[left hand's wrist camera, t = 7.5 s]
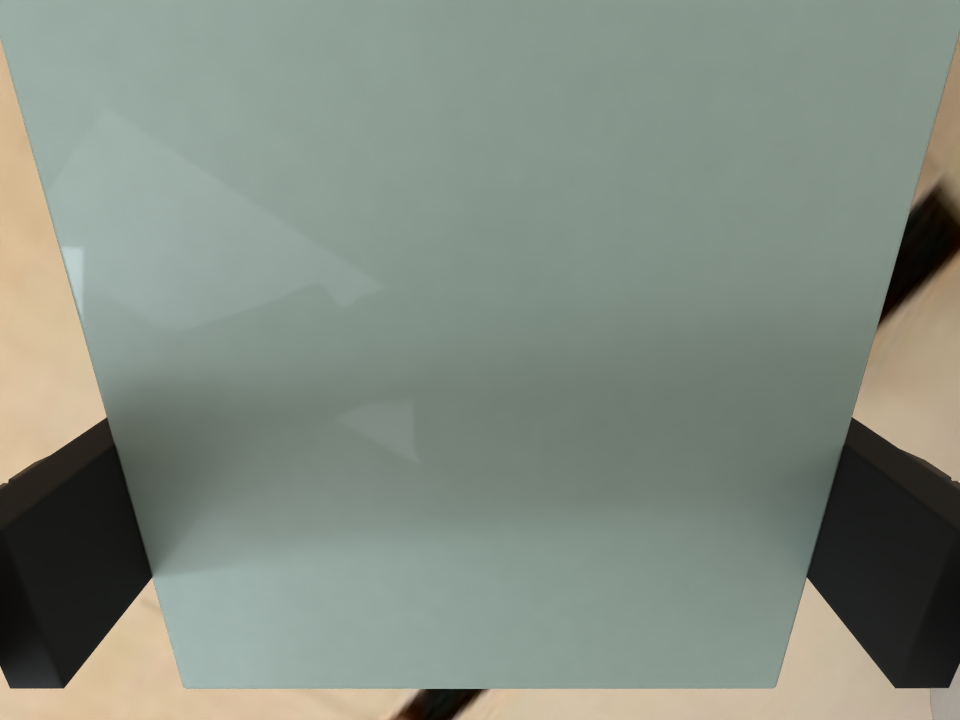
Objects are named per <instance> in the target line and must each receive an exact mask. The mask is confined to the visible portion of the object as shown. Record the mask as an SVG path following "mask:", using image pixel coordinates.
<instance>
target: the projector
mask: <svg viewBox="0 0 960 720" xmlns="http://www.w3.org/2000/svg"><path fill="white" fill-rule="evenodd" d="M930 704H931V710H932V716H933V720H960V664H959V666H958V669H957V671H956V673H955V676H954V678H953V680H952V682H951V685H950V687H949V688H930Z"/></svg>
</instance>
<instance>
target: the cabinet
mask: <svg viewBox="0 0 960 720" xmlns="http://www.w3.org/2000/svg"><path fill="white" fill-rule="evenodd" d="M959 34H960V0H0V39H1V42H2V46H3V50H4V53H5V57H6V60H7V64H8V67H9V71H10V74H11V78H12V82H13V85H14V89H15V92H16V96H17V99H18V103H19V106H20V110H21V113H22V117H23V121H24V124H25V128H26V131H27V135H28V138H29V142H30V145H31V149H32V152H33V156H34V160H35V163H36V167H37V170H38V174H39V177H40V181H41V184H42V188H43V191H44V195H45V199H46V202H47V206H48V209H49V213H50V216H51V220H52V223H53V227H54V230H55V234H56V238H57V241H58V245H59V248H60V252H61V255H62V259H63V262H64V266H65V270H66V273H67V277H68V280H69V284H70V287H71V291H72V294H73V298H74V301H75V305H76V309H77V312H78V316H79V319H80V323H81V326H82V330H83V333H84V337H85V340H86V344H87V348H88V351H89V355H90V358H91V362H92V365H93V369H94V372H95V376H96V379H97V383H98V387H99V390H100V394H101V397H102V401H103V404H104V408H105V411H106V415H107V418H108V422H109V426H110V429H111V433H112V436H113V440H114V443H115V447H116V450H117V454H118V458H119V461H120V465H121V468H122V472H123V475H124V479H125V482H126V486H127V489H128V493H129V497H130V500H131V504H132V507H133V511H134V514H135V518H136V521H137V525H138V528H139V532H140V536H141V539H142V543H143V546H144V550H145V553H146V557H147V560H148V564H149V567H150V571H151V575H152V578H153V582H154V585H155V589H156V592H157V596H158V599H159V603H160V606H161V610H162V614H163V617H164V621H165V624H166V628H167V631H168V635H169V638H170V642H171V645H172V649H173V653H174V656H175V660H176V663H177V667H178V670H179V674H180V677H181V681H182V685H183V687H184V688H186V689H689V688H775V687H776V685H777V681H778V678H779V674H780V671H781V667H782V663H783V660H784V656H785V653H786V649H787V646H788V642H789V639H790V635H791V631H792V628H793V624H794V621H795V617H796V614H797V610H798V607H799V603H800V599H801V596H802V592H803V589H804V585H805V582H806V578H807V575H808V571H809V567H810V564H811V560H812V557H813V553H814V550H815V546H816V543H817V539H818V535H819V532H820V528H821V525H822V521H823V518H824V514H825V511H826V507H827V503H828V500H829V496H830V493H831V489H832V486H833V482H834V479H835V475H836V471H837V468H838V464H839V461H840V457H841V454H842V450H843V447H844V443H845V439H846V436H847V432H848V429H849V425H850V422H851V418H852V415H853V411H854V407H855V404H856V400H857V397H858V393H859V390H860V386H861V383H862V379H863V375H864V372H865V368H866V365H867V361H868V358H869V354H870V351H871V347H872V343H873V340H874V336H875V333H876V329H877V326H878V322H879V319H880V315H881V311H882V308H883V304H884V301H885V297H886V294H887V290H888V287H889V283H890V279H891V276H892V272H893V269H894V265H895V262H896V258H897V255H898V251H899V247H900V244H901V240H902V237H903V233H904V230H905V226H906V223H907V219H908V215H909V212H910V208H911V205H912V201H913V198H914V194H915V191H916V187H917V183H918V180H919V176H920V173H921V169H922V166H923V162H924V159H925V155H926V151H927V148H928V144H929V141H930V137H931V134H932V130H933V127H934V123H935V119H936V116H937V112H938V109H939V105H940V102H941V98H942V95H943V91H944V87H945V84H946V80H947V77H948V73H949V70H950V66H951V63H952V59H953V55H954V52H955V48H956V45H957V41H958V38H959Z"/></svg>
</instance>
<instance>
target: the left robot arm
mask: <svg viewBox="0 0 960 720" xmlns="http://www.w3.org/2000/svg"><path fill="white" fill-rule="evenodd" d="M151 578H152V575H151V571H150V567H149V564H148V560H147V557H146V553H145V550H144V546H143V543H142V539H141V536H140V532H139V528H138V525H137V521H136V518H135V514H134V511H133V507H132V504H131V500H130V497H129V493H128V489H127V486H126V482H125V479H124V475H123V472H122V468H121V465H120V461H119V458H118V454H117V450H116V447H115V443H114V440H113V436H112V433H111V429H110V426H109V422H108V418H105V419H104V420H102V421H101V422H99V423H98V424H96V425H95V426H93V427H92V428H91V429H89V430H88V431H86V432H85V433H83V434H82V435H80V436H79V437H77V438H76V439H74V440H73V441H71V442H70V443H68V444H67V445H65V446H64V447H62V448H61V449H59V450H58V451H56V452H55V453H53V454H52V455H50V456H48V457H46V458H44V459H41V460H39V461H37V462H35V463H33V464H32V465H30V466H29V467H27V468H26V469H24V470H23V471H21V472H20V473H18V474H17V475H15V476H14V477H12V478H11V479H9V482H8V483H3V484H2V485H0V666H1V669H2V671H3V673H4V675H5V678H6V680H7V682H8V684H9V687H10V688H65V686H66V685H67V684H68V683H69V681H70V680H71V679H72V677H73V676H74V675H75V674H76V672H77V671H78V670H79V669H80V667H81V666H82V665H83V664H84V662H85V661H86V660H87V659H88V657H89V656H90V655H91V654H92V652H93V651H94V650H95V649H96V647H97V646H98V645H99V644H100V642H101V641H102V640H103V639H104V637H105V636H106V635H107V633H108V632H109V631H110V630H111V628H112V627H113V626H114V625H115V623H116V622H117V621H118V620H119V618H120V617H121V616H122V615H123V613H124V612H125V611H126V610H127V608H128V607H129V606H130V605H131V603H132V602H133V601H134V600H135V598H136V597H137V596H138V595H139V593H140V592H141V591H142V590H143V588H144V587H145V586H146V584H147V583H148V582H149V581H150V579H151ZM807 578H808V579H809V580H810V582H811V583H812V584H813V585H814V587H815V588H816V589H817V590H818V592H819V593H820V594H821V595H822V597H823V598H824V599H825V600H826V602H827V603H828V604H829V605H830V607H831V608H832V609H833V610H834V612H835V613H836V614H837V615H838V617H839V618H840V619H841V620H842V622H843V623H844V624H845V625H846V627H847V628H848V629H849V631H850V632H851V633H852V634H853V636H854V637H855V638H856V639H857V641H858V642H859V643H860V644H861V646H862V647H863V648H864V649H865V651H866V652H867V653H868V654H869V656H870V657H871V658H872V659H873V661H874V662H875V663H876V664H877V666H878V667H879V668H880V669H881V671H882V672H883V673H884V675H885V676H886V677H887V678H888V680H889V681H890V682H891V683H892V685H893V686H894V687H895V688H949V687H950V685H951V682H952V680H953V678H954V676H955V673H956V671H957V669H958V666H959V664H960V483H959V482H957V481H952V480H951V477H950V476H948V475H947V474H945V473H944V472H942V471H941V470H939V469H938V468H936V467H935V466H933V465H932V464H930V463H928V462H927V461H925V460H923V459H921V458H919V457H917V456H914V455H912V454H910V453H907V452H905V451H903V450H901V449H898V448H897V447H896V446H894V445H893V444H891V443H890V442H888V441H887V440H885V439H884V438H882V437H881V436H879V435H878V434H876V433H875V432H873V431H872V430H870V429H869V428H867V427H866V426H864V425H863V424H861V423H860V422H858V421H857V420H855V419H854V418H853V417H852V418H851V422H850V425H849V429H848V432H847V436H846V439H845V443H844V447H843V450H842V454H841V457H840V461H839V464H838V468H837V471H836V475H835V479H834V482H833V486H832V489H831V493H830V496H829V500H828V503H827V507H826V511H825V514H824V518H823V521H822V525H821V528H820V532H819V535H818V539H817V543H816V546H815V550H814V553H813V557H812V560H811V564H810V567H809V571H808V575H807Z"/></svg>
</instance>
